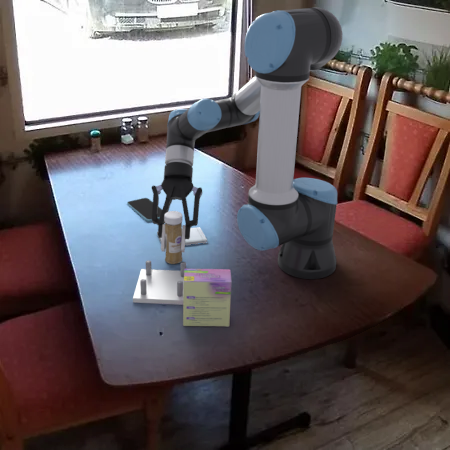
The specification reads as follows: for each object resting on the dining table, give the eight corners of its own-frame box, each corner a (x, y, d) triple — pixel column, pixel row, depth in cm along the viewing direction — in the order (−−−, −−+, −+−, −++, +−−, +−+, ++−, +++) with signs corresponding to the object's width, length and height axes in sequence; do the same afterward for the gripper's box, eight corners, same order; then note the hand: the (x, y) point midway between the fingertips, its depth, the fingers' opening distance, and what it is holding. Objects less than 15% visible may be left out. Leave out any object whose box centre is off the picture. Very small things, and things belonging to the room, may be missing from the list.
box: (228, 312, 148) (230, 268, 143) (229, 327, 143) (231, 282, 138) (183, 311, 148) (183, 267, 142) (182, 326, 143) (182, 281, 137)
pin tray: (192, 275, 162) (193, 259, 160) (188, 304, 150) (188, 287, 148) (141, 273, 162) (140, 257, 160) (133, 302, 150) (132, 285, 148)
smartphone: (147, 197, 201) (169, 214, 190) (147, 200, 201) (169, 218, 190) (125, 201, 198) (147, 220, 186) (125, 205, 198) (147, 223, 187)
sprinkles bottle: (176, 266, 165) (175, 219, 159) (161, 261, 167) (160, 215, 161) (185, 258, 169) (185, 212, 163) (171, 254, 171) (170, 208, 165)
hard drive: (162, 244, 173) (207, 239, 176) (156, 230, 180) (199, 225, 183) (162, 250, 174) (207, 244, 177) (157, 236, 181) (199, 231, 184)
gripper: (211, 172, 175) (207, 255, 168) (147, 170, 175) (140, 252, 168) (211, 161, 167) (206, 248, 160) (144, 158, 168) (136, 245, 161)
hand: (172, 250), depth 164 cm, fingers closed on sprinkles bottle, 4 cm apart
